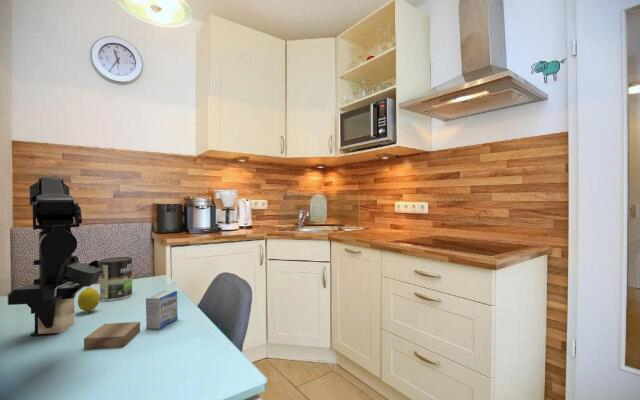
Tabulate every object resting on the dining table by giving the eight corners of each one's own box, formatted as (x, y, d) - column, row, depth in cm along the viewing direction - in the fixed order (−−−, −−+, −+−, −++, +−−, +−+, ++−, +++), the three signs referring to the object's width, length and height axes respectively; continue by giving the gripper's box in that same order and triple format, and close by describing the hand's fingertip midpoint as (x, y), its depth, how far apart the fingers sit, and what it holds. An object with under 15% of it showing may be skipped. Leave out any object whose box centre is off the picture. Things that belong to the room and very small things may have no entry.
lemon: (78, 316, 96) (78, 290, 96) (77, 312, 101) (77, 287, 101) (100, 312, 100) (100, 287, 100) (98, 308, 104) (98, 284, 104)
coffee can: (138, 292, 121) (138, 256, 121) (121, 301, 111) (120, 261, 111) (112, 292, 122) (111, 256, 122) (92, 301, 111) (92, 261, 111)
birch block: (38, 334, 67) (37, 306, 67) (52, 325, 71) (52, 299, 71) (61, 332, 68) (61, 304, 67) (74, 324, 72) (74, 298, 72)
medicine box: (159, 329, 86) (159, 298, 86) (145, 328, 87) (145, 297, 87) (178, 319, 94) (177, 290, 94) (165, 318, 95) (164, 289, 95)
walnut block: (84, 350, 75) (83, 338, 75) (104, 334, 84) (104, 323, 84) (124, 348, 77) (123, 336, 77) (140, 332, 85) (139, 321, 85)
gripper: (69, 259, 61) (70, 339, 61) (116, 246, 80) (116, 306, 80) (4, 262, 60) (5, 343, 60) (67, 247, 78) (68, 309, 78)
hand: (56, 323), depth 69 cm, fingers closed on birch block, 4 cm apart
